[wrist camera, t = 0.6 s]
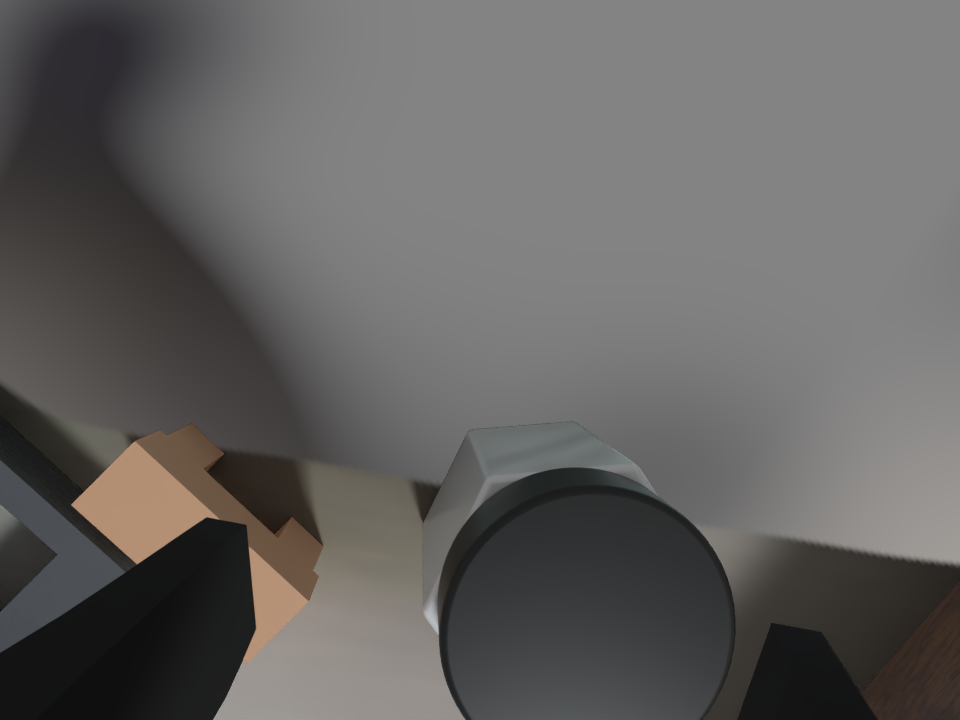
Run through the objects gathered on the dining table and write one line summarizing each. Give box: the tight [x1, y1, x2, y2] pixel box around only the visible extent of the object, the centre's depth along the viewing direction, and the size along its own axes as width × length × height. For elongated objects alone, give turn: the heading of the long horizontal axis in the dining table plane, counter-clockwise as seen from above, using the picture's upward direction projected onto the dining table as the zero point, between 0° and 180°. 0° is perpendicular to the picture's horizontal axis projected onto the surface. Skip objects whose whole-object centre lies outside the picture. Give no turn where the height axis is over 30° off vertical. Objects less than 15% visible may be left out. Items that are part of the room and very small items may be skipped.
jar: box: [422, 421, 735, 720], centre depth 26 cm, size 9×8×12 cm
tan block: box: [71, 424, 323, 663], centre depth 28 cm, size 8×3×6 cm, turn 45°
